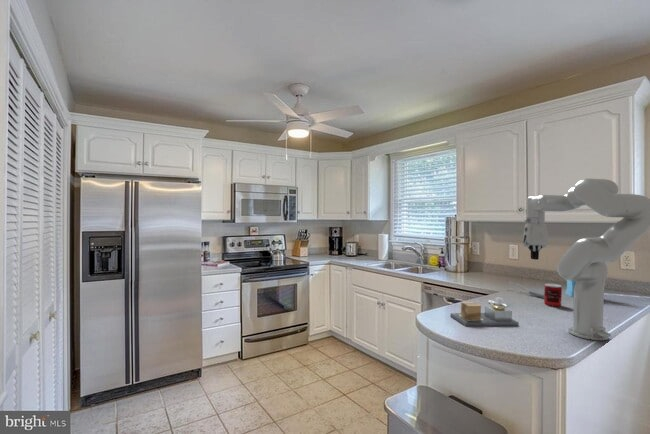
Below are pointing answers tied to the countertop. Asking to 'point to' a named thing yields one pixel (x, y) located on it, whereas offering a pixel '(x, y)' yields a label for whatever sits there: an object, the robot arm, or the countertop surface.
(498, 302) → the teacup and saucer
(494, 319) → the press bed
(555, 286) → the canned food
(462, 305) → the oak block
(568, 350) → the countertop surface
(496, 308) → the gold lobed piece
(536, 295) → the kitchen whisk
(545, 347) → the countertop surface
